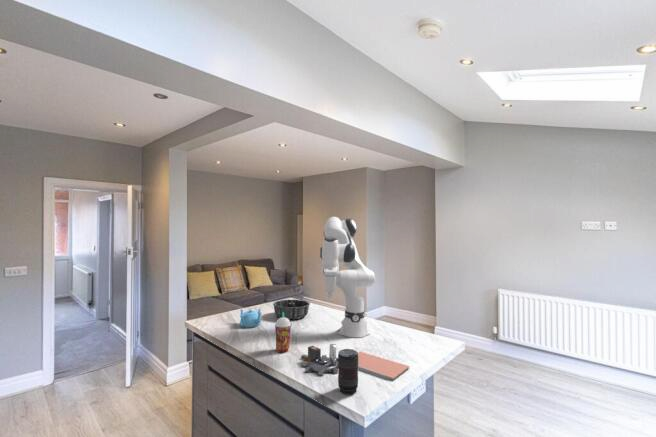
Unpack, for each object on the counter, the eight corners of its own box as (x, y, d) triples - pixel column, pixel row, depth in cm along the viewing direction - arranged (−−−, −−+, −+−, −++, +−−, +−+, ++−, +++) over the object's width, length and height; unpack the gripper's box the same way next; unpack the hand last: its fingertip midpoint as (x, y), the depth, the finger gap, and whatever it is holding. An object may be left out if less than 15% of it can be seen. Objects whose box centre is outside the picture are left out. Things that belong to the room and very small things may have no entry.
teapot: (237, 329, 203) (238, 313, 204) (239, 322, 218) (239, 307, 218) (261, 328, 207) (262, 312, 207) (261, 321, 221) (261, 306, 221)
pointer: (301, 358, 160) (301, 355, 160) (304, 357, 161) (304, 354, 161) (306, 360, 157) (306, 357, 157) (309, 359, 158) (309, 356, 158)
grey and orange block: (312, 355, 159) (312, 345, 159) (320, 359, 154) (320, 348, 154) (307, 357, 157) (307, 346, 157) (315, 361, 152) (315, 350, 152)
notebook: (340, 365, 153) (340, 361, 153) (359, 354, 166) (360, 350, 166) (392, 383, 136) (392, 378, 136) (409, 370, 149) (409, 365, 149)
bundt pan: (296, 310, 253) (296, 297, 253) (317, 318, 232) (317, 303, 233) (266, 315, 236) (266, 302, 236) (285, 324, 216) (286, 309, 216)
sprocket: (324, 355, 163) (325, 334, 164) (351, 367, 150) (351, 344, 150) (294, 364, 151) (295, 342, 152) (320, 379, 137) (320, 354, 138)
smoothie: (273, 348, 172) (273, 310, 172) (288, 347, 175) (289, 309, 175) (276, 354, 164) (277, 314, 164) (292, 352, 167) (293, 313, 167)
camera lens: (333, 389, 130) (334, 351, 130) (349, 383, 134) (349, 347, 135) (346, 398, 123) (346, 357, 123) (362, 392, 128) (362, 353, 128)
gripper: (324, 267, 175) (323, 293, 175) (324, 272, 155) (323, 301, 154) (335, 267, 175) (335, 293, 175) (337, 272, 155) (336, 301, 154)
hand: (329, 297), depth 164 cm, fingers closed
